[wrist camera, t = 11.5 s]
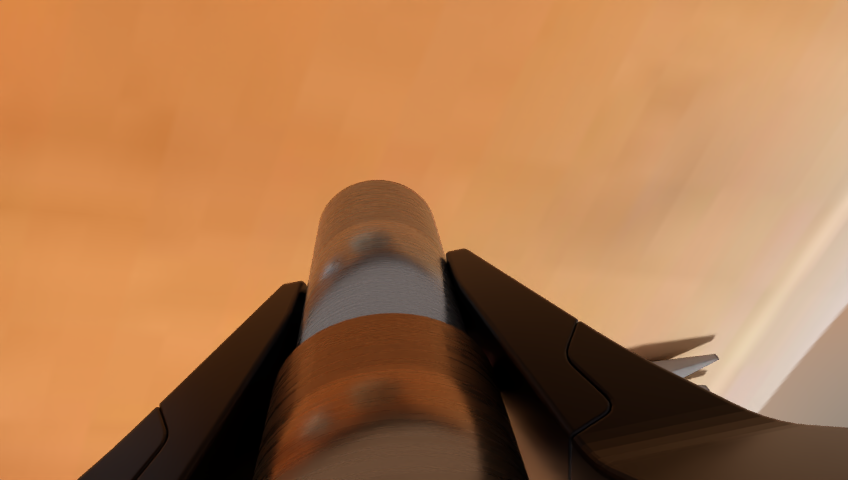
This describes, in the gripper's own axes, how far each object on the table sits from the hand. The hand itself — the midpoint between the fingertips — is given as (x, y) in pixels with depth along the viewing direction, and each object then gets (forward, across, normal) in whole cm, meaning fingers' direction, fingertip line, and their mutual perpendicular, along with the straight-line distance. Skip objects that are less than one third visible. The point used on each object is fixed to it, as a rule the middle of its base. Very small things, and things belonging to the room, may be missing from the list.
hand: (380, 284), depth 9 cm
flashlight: (+2, 0, 0) cm, 2 cm away
